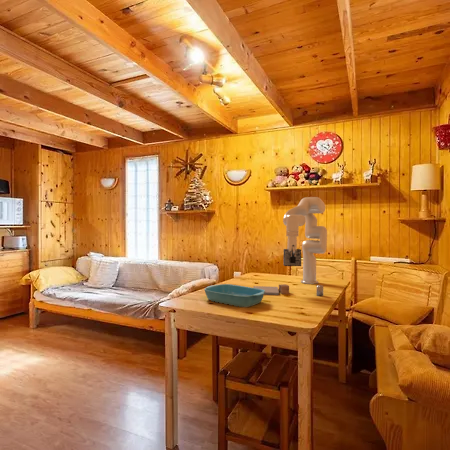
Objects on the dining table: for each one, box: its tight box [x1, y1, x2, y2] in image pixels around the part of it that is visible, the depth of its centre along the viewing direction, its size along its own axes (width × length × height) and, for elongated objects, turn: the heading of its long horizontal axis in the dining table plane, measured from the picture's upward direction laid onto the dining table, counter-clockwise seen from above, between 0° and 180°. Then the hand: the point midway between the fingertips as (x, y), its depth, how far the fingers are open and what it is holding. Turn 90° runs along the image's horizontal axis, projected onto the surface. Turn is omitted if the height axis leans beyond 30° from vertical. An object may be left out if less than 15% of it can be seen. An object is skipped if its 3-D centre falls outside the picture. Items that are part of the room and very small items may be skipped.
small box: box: [283, 248, 302, 267], centre depth 198 cm, size 11×6×10 cm, turn 86°
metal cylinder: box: [316, 284, 324, 297], centre depth 192 cm, size 4×4×6 cm
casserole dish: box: [203, 283, 265, 308], centre depth 177 cm, size 37×22×7 cm, turn 51°
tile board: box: [252, 285, 280, 296], centre depth 202 cm, size 18×16×2 cm
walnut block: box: [278, 283, 290, 295], centre depth 198 cm, size 5×5×5 cm
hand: (292, 262), depth 198 cm, fingers closed on small box, 6 cm apart
